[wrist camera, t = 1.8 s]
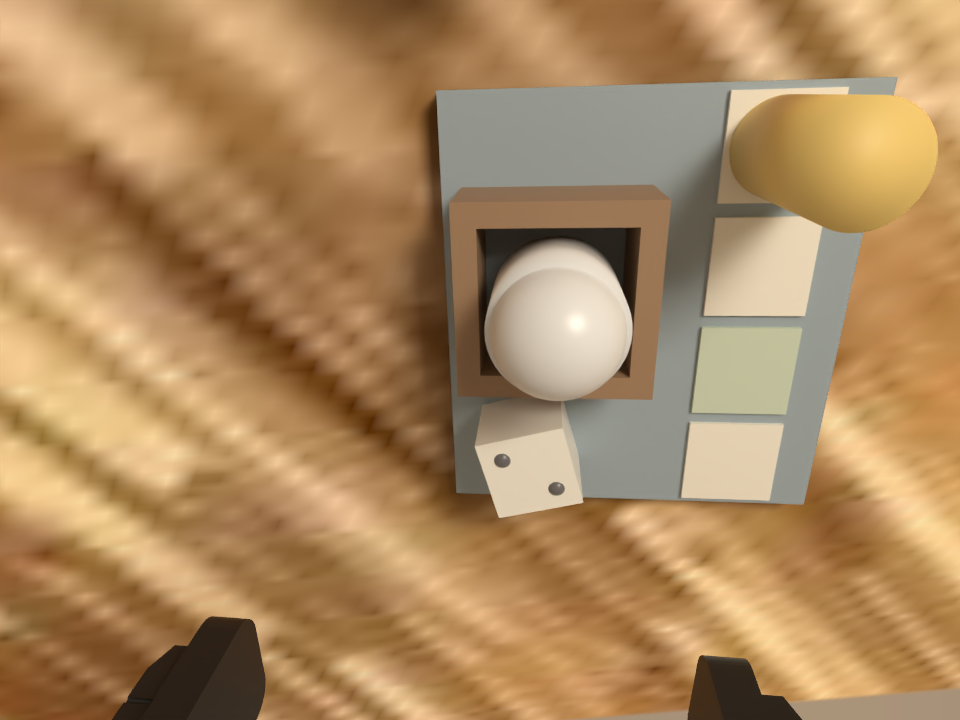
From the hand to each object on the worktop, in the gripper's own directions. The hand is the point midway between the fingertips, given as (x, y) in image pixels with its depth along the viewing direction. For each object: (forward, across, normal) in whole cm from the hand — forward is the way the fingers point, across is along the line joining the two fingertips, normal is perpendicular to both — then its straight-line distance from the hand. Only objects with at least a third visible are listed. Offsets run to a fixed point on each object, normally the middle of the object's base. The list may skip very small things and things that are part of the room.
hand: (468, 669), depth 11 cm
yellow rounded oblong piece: (+19, -11, -8) cm, 23 cm away
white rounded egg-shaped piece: (+17, -2, -2) cm, 17 cm away
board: (+21, -6, 0) cm, 22 cm away
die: (+20, -1, +6) cm, 21 cm away
